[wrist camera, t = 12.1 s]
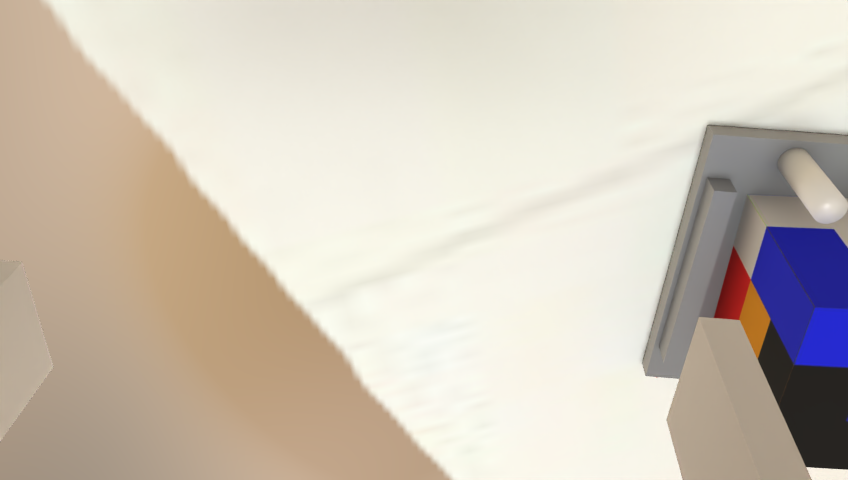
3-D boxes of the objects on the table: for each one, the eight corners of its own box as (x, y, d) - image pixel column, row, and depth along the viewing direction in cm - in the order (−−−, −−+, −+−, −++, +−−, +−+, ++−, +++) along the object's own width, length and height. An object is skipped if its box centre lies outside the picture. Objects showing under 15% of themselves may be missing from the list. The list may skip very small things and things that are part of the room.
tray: (707, 125, 40) (740, 179, 35) (1013, 147, 40) (1093, 206, 34) (642, 363, 49) (660, 434, 44) (889, 384, 49) (937, 458, 44)
